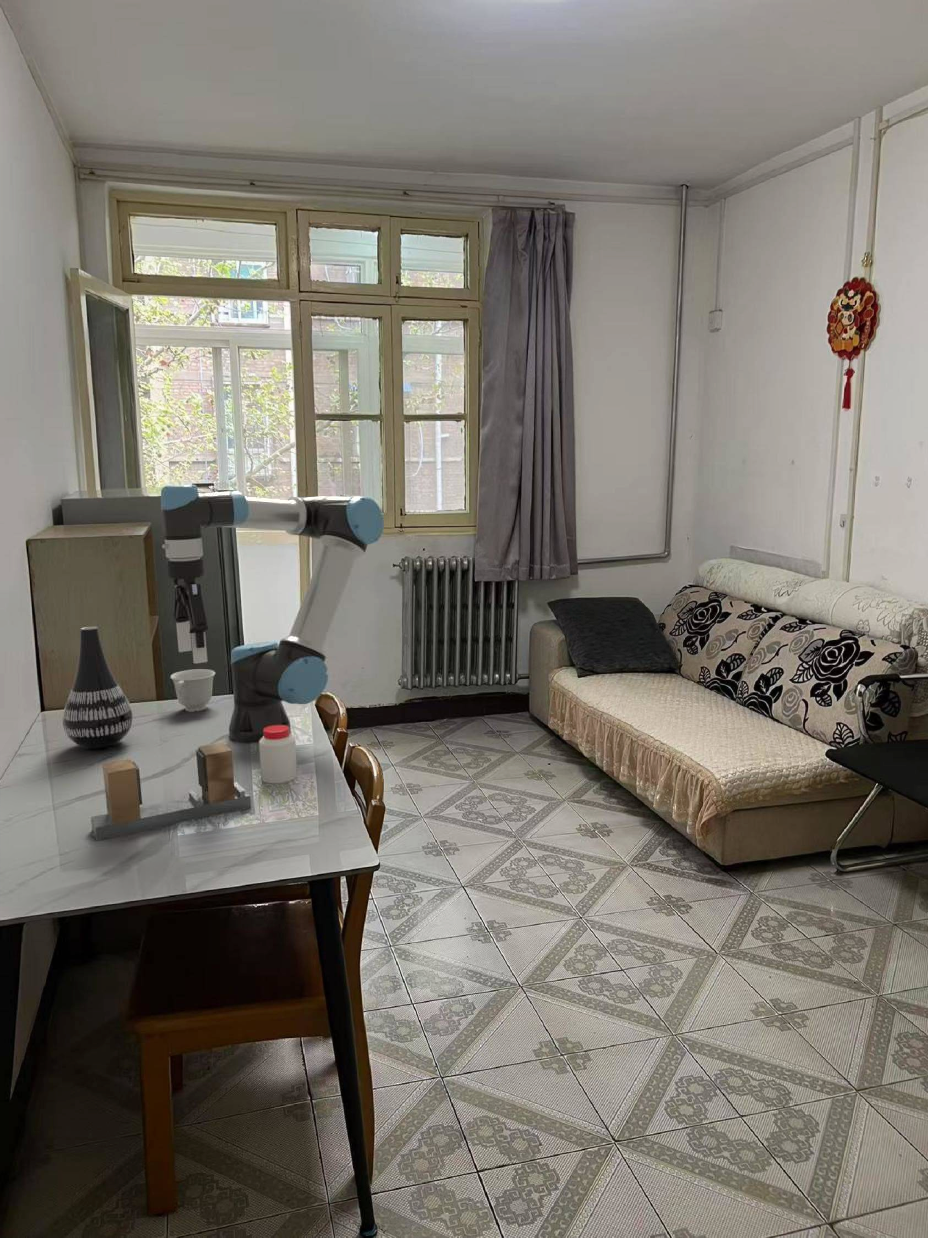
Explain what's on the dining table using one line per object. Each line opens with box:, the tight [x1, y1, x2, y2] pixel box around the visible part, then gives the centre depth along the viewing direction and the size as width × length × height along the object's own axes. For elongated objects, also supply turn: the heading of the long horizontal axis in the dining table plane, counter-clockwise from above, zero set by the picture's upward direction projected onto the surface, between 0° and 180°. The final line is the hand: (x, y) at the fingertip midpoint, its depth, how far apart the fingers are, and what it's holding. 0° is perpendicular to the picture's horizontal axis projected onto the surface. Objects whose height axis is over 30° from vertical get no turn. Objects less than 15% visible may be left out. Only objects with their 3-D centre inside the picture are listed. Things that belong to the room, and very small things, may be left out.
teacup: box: [170, 668, 216, 713], centre depth 254 cm, size 12×15×10 cm
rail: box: [90, 758, 252, 842], centre depth 178 cm, size 29×6×12 cm, turn 120°
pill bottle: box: [258, 725, 298, 784], centre depth 200 cm, size 8×8×11 cm
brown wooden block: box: [195, 742, 235, 804], centre depth 182 cm, size 6×6×10 cm
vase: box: [62, 626, 134, 751], centre depth 223 cm, size 16×16×30 cm
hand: (192, 656), depth 199 cm, fingers open, 13 cm apart
